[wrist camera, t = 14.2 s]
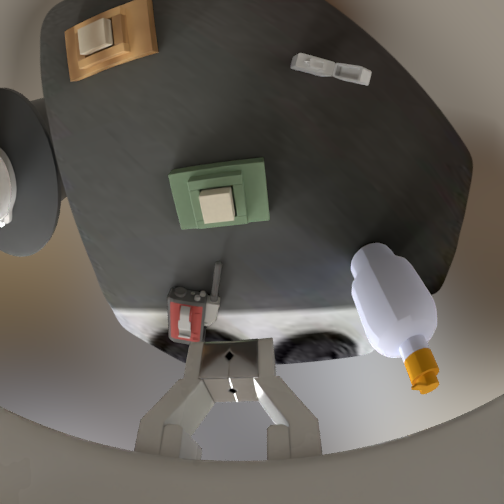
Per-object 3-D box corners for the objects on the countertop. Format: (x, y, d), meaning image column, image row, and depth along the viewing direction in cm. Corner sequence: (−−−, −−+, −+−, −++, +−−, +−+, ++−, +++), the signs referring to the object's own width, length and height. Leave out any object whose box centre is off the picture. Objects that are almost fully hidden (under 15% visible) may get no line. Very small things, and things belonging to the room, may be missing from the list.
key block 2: (184, 222, 40) (178, 236, 37) (172, 169, 35) (163, 179, 32) (268, 213, 39) (270, 226, 36) (263, 157, 35) (264, 165, 31)
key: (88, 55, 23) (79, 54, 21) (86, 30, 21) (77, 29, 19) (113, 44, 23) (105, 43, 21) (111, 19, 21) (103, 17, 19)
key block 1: (79, 80, 27) (62, 82, 24) (73, 32, 23) (57, 30, 20) (158, 52, 27) (147, 49, 23) (152, 0, 22) (141, -8, 19)
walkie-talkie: (214, 339, 54) (227, 257, 43) (212, 357, 50) (224, 275, 40) (170, 332, 53) (170, 248, 42) (166, 349, 50) (163, 266, 39)
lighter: (290, 68, 28) (301, 64, 22) (292, 56, 27) (304, 48, 21) (345, 84, 29) (370, 86, 22) (348, 72, 28) (373, 70, 21)
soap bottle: (365, 223, 40) (441, 355, 20) (409, 248, 42) (481, 363, 22) (329, 273, 45) (369, 410, 25) (374, 291, 47) (420, 410, 27)
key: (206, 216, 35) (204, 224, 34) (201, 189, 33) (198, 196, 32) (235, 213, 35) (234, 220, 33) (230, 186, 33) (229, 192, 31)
